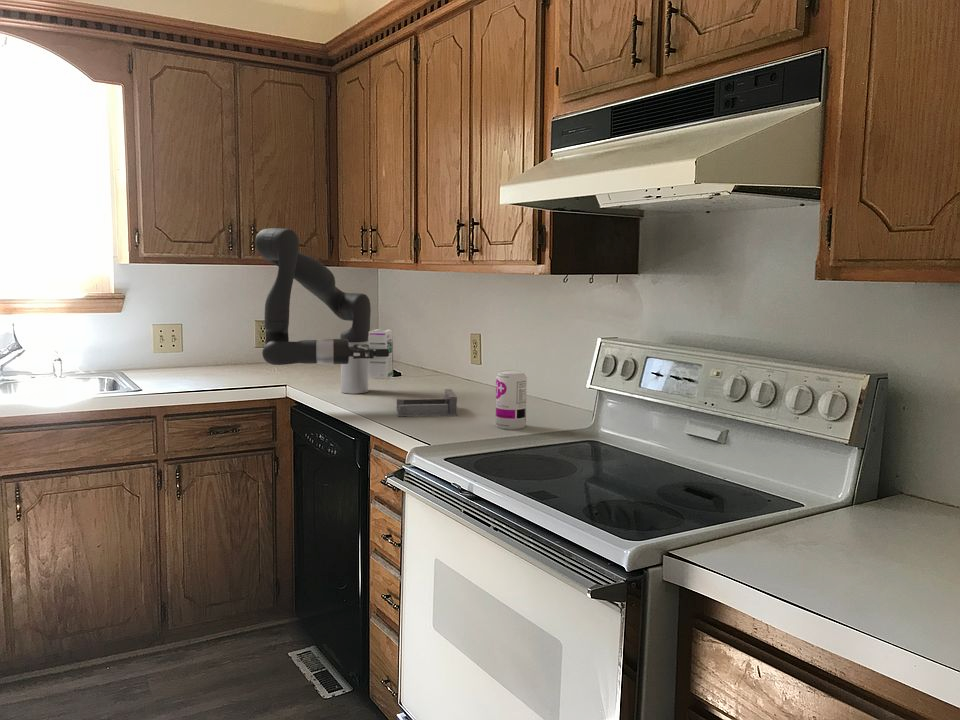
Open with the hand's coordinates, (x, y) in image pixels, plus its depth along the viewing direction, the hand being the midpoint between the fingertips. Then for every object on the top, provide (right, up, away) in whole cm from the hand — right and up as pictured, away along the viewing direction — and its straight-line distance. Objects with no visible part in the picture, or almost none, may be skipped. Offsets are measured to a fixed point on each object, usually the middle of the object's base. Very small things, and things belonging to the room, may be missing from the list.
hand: (388, 351), depth 243 cm
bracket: (+12, -18, -3) cm, 22 cm away
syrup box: (-2, -8, +1) cm, 8 cm away
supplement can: (+36, -21, -24) cm, 48 cm away
